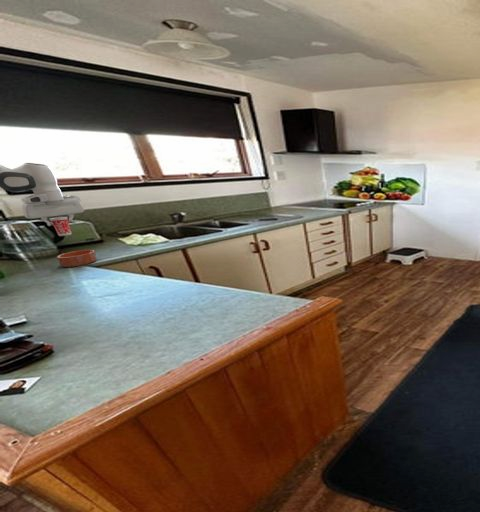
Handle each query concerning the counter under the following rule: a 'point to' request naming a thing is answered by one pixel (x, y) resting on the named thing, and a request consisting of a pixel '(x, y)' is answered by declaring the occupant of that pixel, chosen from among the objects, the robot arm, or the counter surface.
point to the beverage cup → (61, 225)
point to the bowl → (77, 258)
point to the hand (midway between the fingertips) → (60, 224)
